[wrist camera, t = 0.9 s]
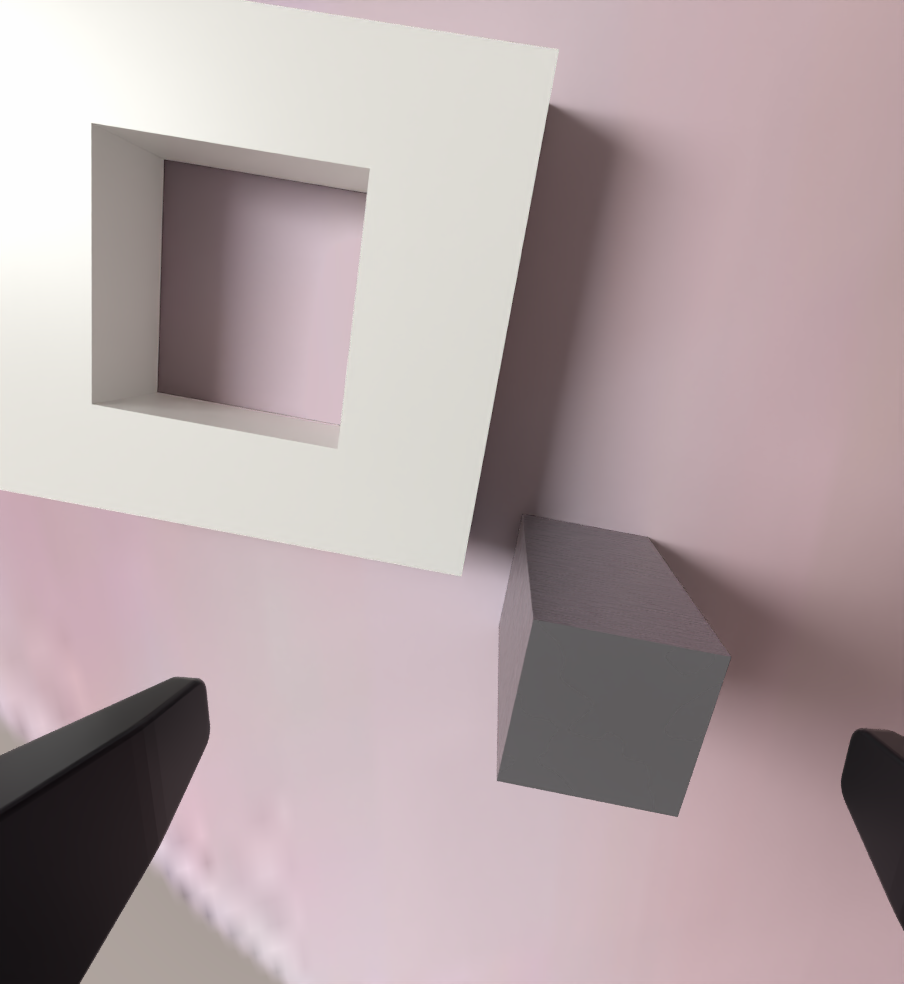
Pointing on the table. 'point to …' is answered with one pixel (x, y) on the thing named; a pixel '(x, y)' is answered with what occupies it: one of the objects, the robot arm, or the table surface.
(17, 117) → the square frame
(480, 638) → the table surface
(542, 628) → the dark grey square post
